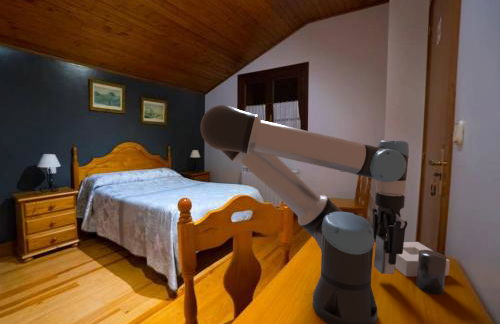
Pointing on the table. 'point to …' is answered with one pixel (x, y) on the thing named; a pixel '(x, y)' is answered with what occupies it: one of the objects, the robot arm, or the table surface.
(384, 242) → the square bit
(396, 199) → the robot arm
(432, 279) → the cylinder
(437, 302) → the table surface
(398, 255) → the socket block
